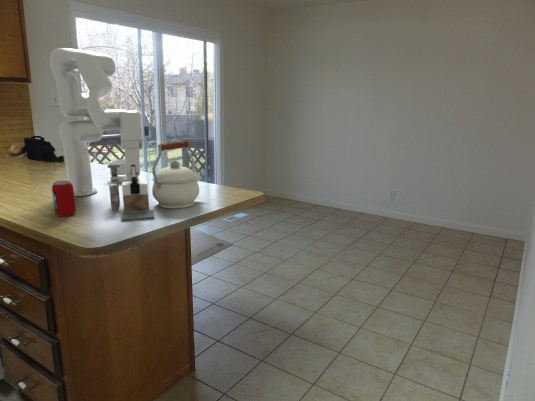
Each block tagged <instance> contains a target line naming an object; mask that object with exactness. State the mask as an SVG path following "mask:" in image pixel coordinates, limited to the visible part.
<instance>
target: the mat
mask: <svg viewBox="0 0 535 401" xmlns="http://www.w3.org/2000/svg"><path fill="white" fill-rule="evenodd" d="M120 220H121V221H120V222H133V221H145V220H155V211H154V209H149V210H144V211H130V212H124V211H122V213H121V218H120Z"/></svg>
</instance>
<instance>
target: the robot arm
mask: <svg viewBox="0 0 535 401" xmlns="http://www.w3.org/2000/svg"><path fill="white" fill-rule="evenodd" d="M49 66H50V70H51V72H52V75H53V78H54V80H55V83H56V90H57V98H58V99H57V100H58V105H59V109H60V110H59V111H60V113H61V114H62V115H63V116H64V117H66V118H67V117H69V118H82V117H84V118H85V119H76V120H75V119H73V120H65V121H63V122H61V124H60V125H59V127H58V133H59V137H60V140H61V143H62V146H63V154H64V160H65V167H66V168H65V170H66V175H67V181H70V183H71V184H72V185H73V190H74V197H85V196H92V195H94V194H96V193H97V191H98V190H97V188H95V187H93V178H92V177H93V176H92V169H91V160H90V152H89V150H88V149H87V148H86V147H85V145H84V143H92V142H93V143H95V142H99V141H101V140H102V138H103V137H104V136H103V135H104V132H105V131H119V134H120V146H121V150H124V160H125V167H126V176H127V177H128V175H130V180H131V184H130V189H131V194H140V187H139V183H138V181H140V179H139V177H140V174H141V152H140V151H141V150H143V148H144V146H143V133H142V116H141V112H139V111H137V110H127V109H120V108H119V109H103V108H102V106H101V104H100V101H99V99H101V98H102V97H105V96H106V95H108V94H109V93H110V92H111V91H112V89H113V84H112V82H111V79H110V78H109V77H112V76H113V75H114V74H115V72H116V63H115V61H114V59H113V58H112V57H111V56H110V55H109V54H107V53H102V52H97V51H91V50H83V49H76V48H67V47H60V48H56V49H54V50H52V52H51V53H50V57H49ZM73 72H79V73H80V76H81V77H82V79H83V81H84V83H85V85H86V87H87V89H88V91H89V93H81V87H80V82H79V80H78V79H77V77H76V76H75V75H74V74H73Z"/></svg>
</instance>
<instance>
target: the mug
mask: <svg viewBox="0 0 535 401" xmlns="http://www.w3.org/2000/svg"><path fill="white" fill-rule="evenodd" d="M119 164H120V167H117V174H118V175H126V167H125V159H114V160H110V161H109V163H108V165H119ZM109 170H110V171H109V172H110V174H109V175H110V176H111V175H112V174H111V168H109ZM130 181H131V180H130V175H128V177H127V180H118V183H122V182H130Z"/></svg>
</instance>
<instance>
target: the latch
mask: <svg viewBox="0 0 535 401" xmlns="http://www.w3.org/2000/svg"><path fill="white" fill-rule="evenodd" d="M117 167H120V164H119V165H109V164H107V168H108V169H110V168H111V174H112V175H111V174H110V181H111V180H127V176H126V175H118V174H117Z"/></svg>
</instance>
